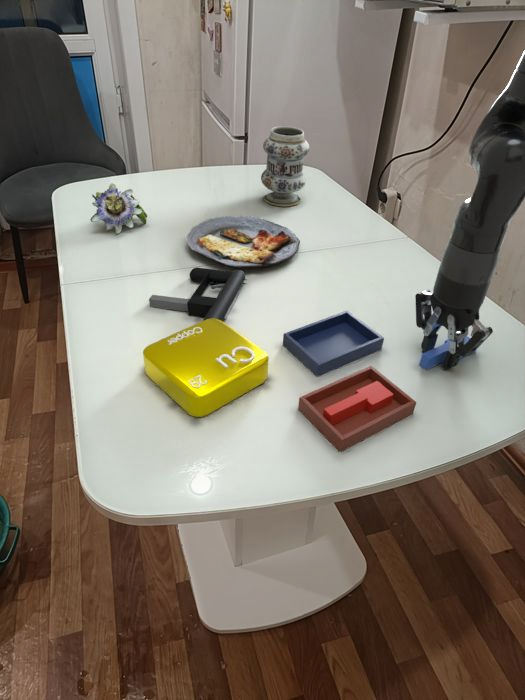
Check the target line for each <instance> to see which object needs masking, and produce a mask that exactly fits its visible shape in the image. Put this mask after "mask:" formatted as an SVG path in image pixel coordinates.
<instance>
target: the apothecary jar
mask: <svg viewBox="0 0 525 700" xmlns="http://www.w3.org/2000/svg"><path fill="white" fill-rule="evenodd" d="M262 145H263V146H262V148H263V151H264V152H265V153H266V154H267V156H266V157H267V158H266V168H265V169H264V170H263V172H262V173H261V176H260V182H261V184H262V185H263V186H264V187H265V188H266V189H267V190H270V191H272V192H269V193H266V194H265V195H264V196H263V200H264V201H265V202H266V203H267V204H269V205H271V206H275V207H285V208H286V207H294V206H297V205H299V204H300V201H301V197H300V195H297V194H295V193H297V192H299V191H301V190H303V188H304V187H305V186H306V184H307V176H306V174H305V173H304V171H303V169H304V161H305V160H304V159H305V157H306V156H307V155H308V153H309V152H310V144H309V142H308V141H307V140H306V139H305V131H304V130H303V129H302V128H298V127H296V126H288V125H287V126H285V125H281V126H279V125H278V126H274V127H272V128H271V129H270V134H269V136H268V137H267V138H266V139H265V140H264V141H263V143H262Z"/></svg>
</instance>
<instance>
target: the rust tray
mask: <svg viewBox="0 0 525 700" xmlns="http://www.w3.org/2000/svg"><path fill="white" fill-rule="evenodd" d="M376 381H378V382H380V383H381V384H382V385H383V386H384V387H386V388H387V389H388V390H389V391H390V392H392V393H393V394H394V396H393V400H392V403H390V404H388V405H386V406H384V407H382V408H380V409H378V410H376V411H374V412H372V413H369V412H368V411H367V410H366V409H365V410H363V411H361V412H359V413H357V414H355V415H353V416H351V417H349V418H347V419H345V420H343V421H341V422H339V423H337V424H335V425H333V426H332V425H331V424H330V423H329V422H328V421H327V420H326V419H325V418H324V417H323V412H324V409H325V408H327V407H329V406H331V405H334V404H336V403H338V402H340V401H342V400H344V399H346V398H349V397H351V396H353V395H355V393H356V390H358V389H361V388H363V387H365V386H367V385H369V384H371V383H373V382H376ZM416 405H417V401H415V400H414V399H413V398H412V397H411V396H409V395H408V394H407V393H406V392H405V391H403V390H402V389H401V388H400V387H399V386H397V385H396V384H395V383H393V382H392V381H391V380H390V379H388V377H386V376H385V375H384V374H382V373H381V372H380V371H379V370H377V369H376V368H375V367H374V366H373V365H369V366H366V367H365V368H363V369H360V370H358V371H356V372H353V373H351V374H349V375H346V376H344V377H342V378H340V379H338V380H336V381H333V382H330V383H329V384H326V385H324V386H322V387H319V388H316V389H315V390H313V391H310V392H308V393H306V394H304V395H301V396H299V398H298V406H297V409H298V411H299V412H300V413H301V414H302V415H303V416H304V417H305V418H306V419H307V420H308V421H309V422H310V423H311V424H312V425H313V426H314V427H315V428H316V429H317V430H318V431H319V432H320V433H321V434H322V435H323V436H324V437H325V438H326V439H327V441H329V443H330V444H332V445H333V447H335V448H336V449H337V451H338V452H339V453H341V452H343V451H345V450H347V449H348V448H351V447H353V446H354V445H356V444H358V443H360V442H362V441H364V440H365V439H367V438H369V437H371V436H373V435H375V434H377V433H379V432H381V431H383V430H385V429H387V428H389V427H391V426H392V425H394V424H396V423H398V422H400V421H402V420H404V419H406V418H407V417H409V416H411V415H413V414H414V412H415V408H416Z"/></svg>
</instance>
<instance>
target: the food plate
mask: <svg viewBox="0 0 525 700" xmlns="http://www.w3.org/2000/svg"><path fill="white" fill-rule="evenodd" d="M186 234H187V235H186V237H185V239H186V240H185V241H186V243H187V245H188V246H189V248H191V250H192V251H194V252H196V253H199V254H200V255H203V256H204V257H206V258H209V259H212V260H214V261H216V262H219V263H221V264H223V265H226V266H230V267H234V268H243V269H244V268H264V267H268V266H274V265H277V264H279V263H282V262H283V261H285V260H288V259H290V258H292V257H294V256H295V255H296V254H297V253H298V251H299V247H300V244H301V240H300V239H299V238H298V236H297V235H296V234H295V233H294V232H292V231H291V230H290V229H289V228H288V227H286V226H283V225H281V224H278V223H275V222H273V221H270V220H267V219H264V218H260V217H259V216H251V215H235V216H232V215H231V216H230V215H228V216H227V215H226V216H219V217H214V218H209V219H207V220H203V221H201V222H200V223H198V224H196V225H194V226H192V227H191V229H190V230H189V231H188V232H187V233H186Z"/></svg>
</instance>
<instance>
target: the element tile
mask: <svg viewBox="0 0 525 700" xmlns="http://www.w3.org/2000/svg"><path fill="white" fill-rule="evenodd" d="M142 357H143V364H144V371H145V374H146V375H147V377H148V378H149V379H150V380H152V382H154V384H156V385H157V386H158V387H159V388H160V389H161V390H162V391H163V392H164V393H165V394H167V396H168V397H170V398H171V399H172V400H173V402H175V403H176V404H177V405H178V406H179V407H180V408H182V409H183V410H184V411H185V412H186V413H187V414H188V415H190V416H192V417H195V418H201V417H206V416H208V415H210V414H212V413H214V412H215V411H217V410H218V409H220V408H222V407H224V406H226V405H227V404H229V403H231V402H232V401H235V400H236V399H238V398H239V397H241V396H243V395H245V394H247V393H248V392H250V391H251V390H253V389H255V388H257V387H258V386H260V385H262V384H263V383H265V382H266V380H267V379H268V376H269V375H268V373H269V372H268V371H269V355H268V354H267V352H266V351H265V350H263V349H262V348H260V347H259V346H257V345H256V344H255V343H253V342H252V341H250V340H249V339H247V338H246V337H245V336H244V335H242V334H241V333H239V332H238V331H237V330H235V329H234V328H233V327H231V326H230V325H228V324H227V323H225V322H224V321H223V320H222V321H221V320H218V319H215V318H211V319H206V320H203V319H202V320H201V321H199V322H197V323H195V324H192V325H190V326H188V327H186V328H183V329H181V330H179V331H177V332H175V333H172V334H170V335H168V336H166V337H164V338H161V339H159V340H157V341H155V342H153V343H151V344H148V345H147V346H145V347H144V349H143V350H142Z"/></svg>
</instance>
